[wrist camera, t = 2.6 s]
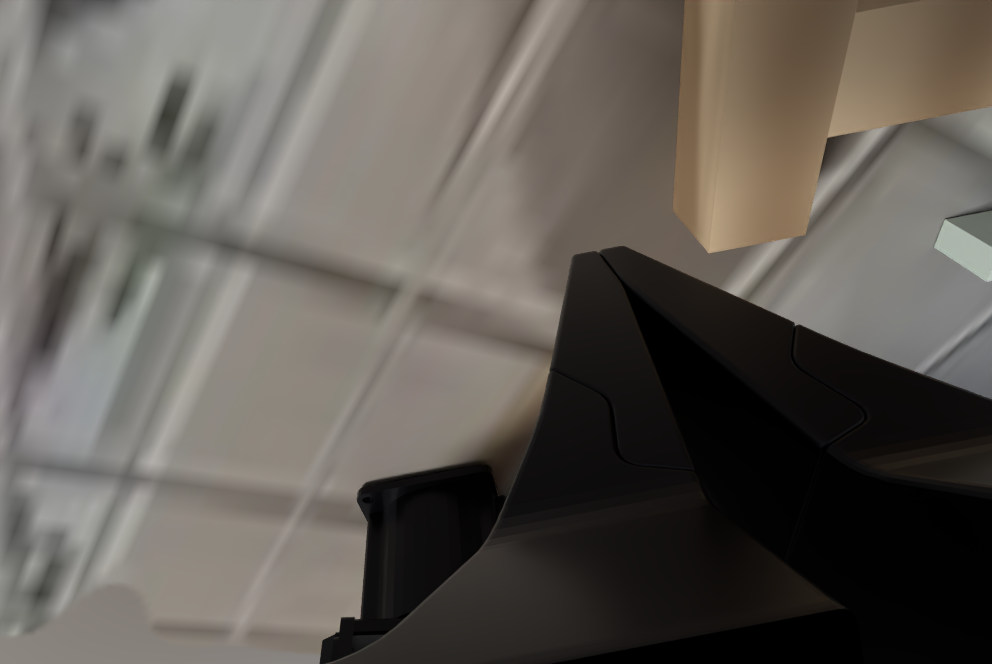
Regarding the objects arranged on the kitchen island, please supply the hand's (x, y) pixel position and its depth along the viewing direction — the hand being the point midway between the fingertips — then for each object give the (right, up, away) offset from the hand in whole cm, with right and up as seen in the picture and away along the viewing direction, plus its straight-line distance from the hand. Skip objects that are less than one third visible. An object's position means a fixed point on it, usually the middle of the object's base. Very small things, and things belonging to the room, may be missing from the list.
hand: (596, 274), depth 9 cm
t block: (+8, +8, +7) cm, 13 cm away
